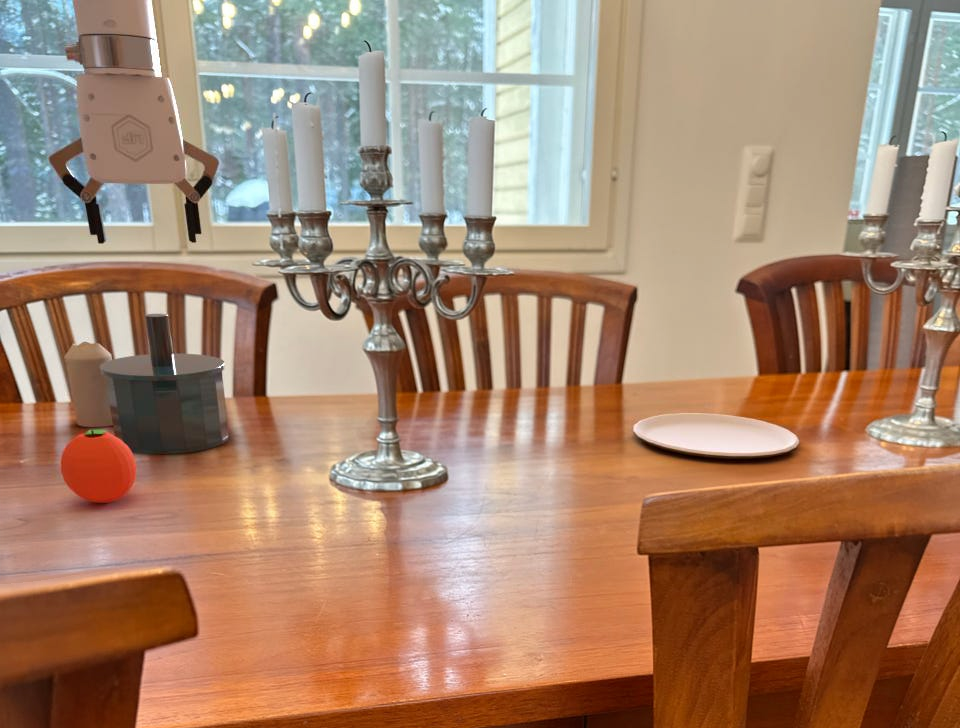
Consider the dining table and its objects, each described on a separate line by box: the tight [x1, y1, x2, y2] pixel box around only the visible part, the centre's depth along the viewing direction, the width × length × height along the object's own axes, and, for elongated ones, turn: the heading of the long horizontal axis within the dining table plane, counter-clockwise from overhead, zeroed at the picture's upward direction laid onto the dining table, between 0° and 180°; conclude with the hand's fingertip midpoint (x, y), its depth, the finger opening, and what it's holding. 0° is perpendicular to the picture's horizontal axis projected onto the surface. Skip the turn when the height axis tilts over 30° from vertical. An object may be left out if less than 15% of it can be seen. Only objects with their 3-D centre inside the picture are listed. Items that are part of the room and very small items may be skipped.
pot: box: [105, 371, 230, 455], centre depth 108 cm, size 13×19×8 cm
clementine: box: [60, 429, 138, 504], centre depth 88 cm, size 8×7×7 cm
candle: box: [63, 341, 113, 428], centre depth 115 cm, size 6×6×10 cm
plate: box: [632, 412, 800, 460], centre depth 115 cm, size 21×21×1 cm
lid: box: [99, 313, 226, 381], centre depth 105 cm, size 14×14×7 cm
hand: (148, 242), depth 100 cm, fingers open, 9 cm apart
